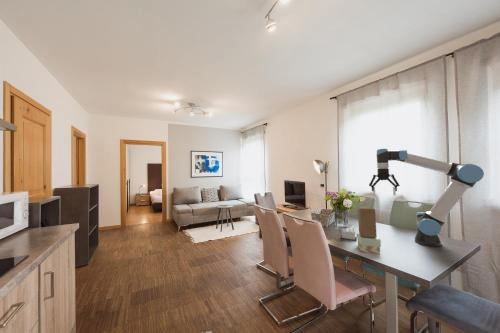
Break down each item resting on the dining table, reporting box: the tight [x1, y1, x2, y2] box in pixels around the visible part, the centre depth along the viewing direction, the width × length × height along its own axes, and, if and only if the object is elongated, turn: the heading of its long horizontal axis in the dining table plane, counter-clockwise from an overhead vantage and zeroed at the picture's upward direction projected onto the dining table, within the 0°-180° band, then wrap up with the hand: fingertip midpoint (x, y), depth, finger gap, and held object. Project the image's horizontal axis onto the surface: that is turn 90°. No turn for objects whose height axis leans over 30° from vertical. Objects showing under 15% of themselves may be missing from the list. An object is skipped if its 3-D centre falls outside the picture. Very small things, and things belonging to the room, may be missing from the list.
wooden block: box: [357, 206, 378, 238], centre depth 147 cm, size 10×10×20 cm
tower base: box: [357, 240, 381, 255], centre depth 146 cm, size 12×12×5 cm
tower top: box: [356, 232, 382, 248], centre depth 146 cm, size 12×12×5 cm
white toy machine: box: [340, 223, 358, 242], centre depth 174 cm, size 18×10×12 cm
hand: (384, 195), depth 160 cm, fingers open, 13 cm apart
